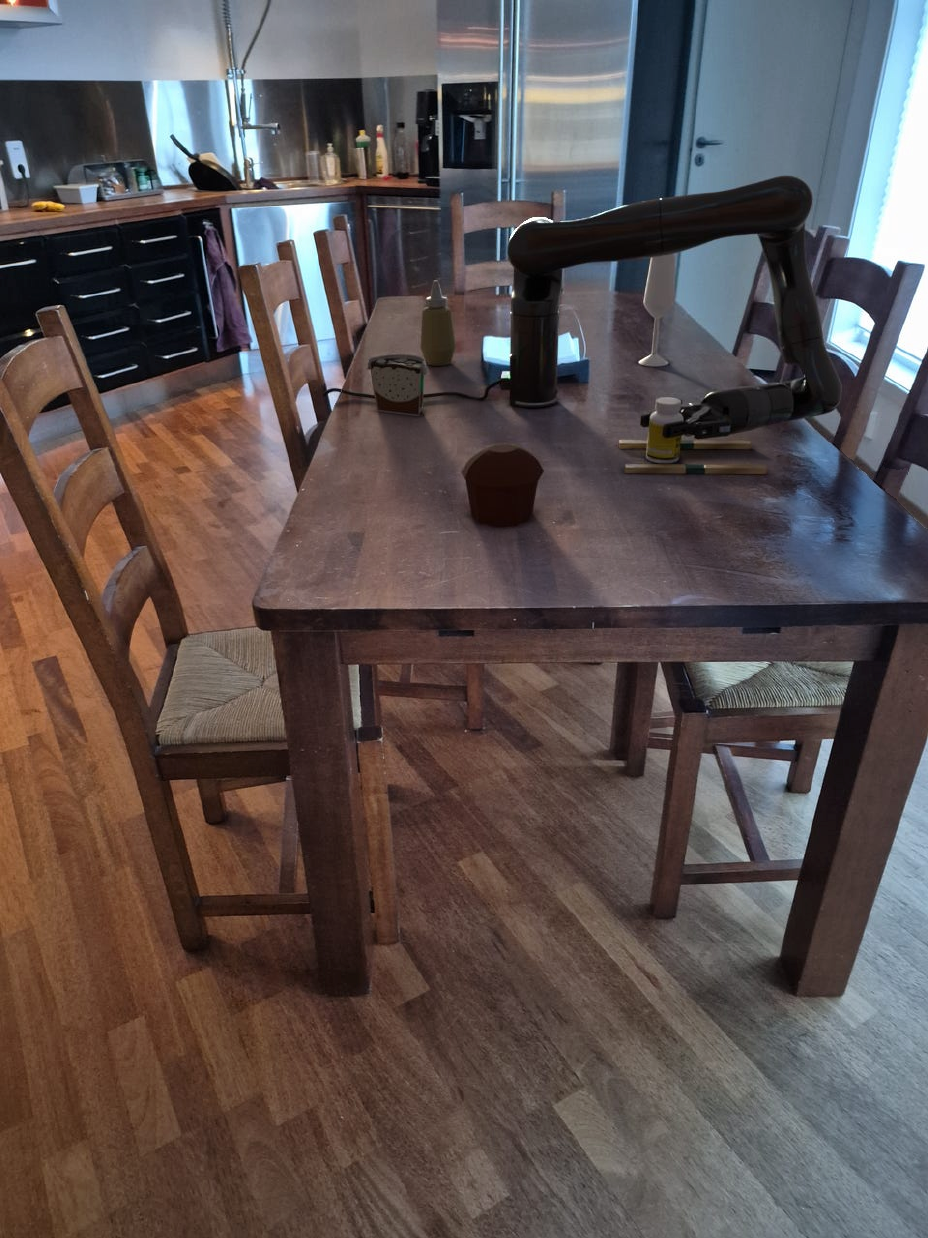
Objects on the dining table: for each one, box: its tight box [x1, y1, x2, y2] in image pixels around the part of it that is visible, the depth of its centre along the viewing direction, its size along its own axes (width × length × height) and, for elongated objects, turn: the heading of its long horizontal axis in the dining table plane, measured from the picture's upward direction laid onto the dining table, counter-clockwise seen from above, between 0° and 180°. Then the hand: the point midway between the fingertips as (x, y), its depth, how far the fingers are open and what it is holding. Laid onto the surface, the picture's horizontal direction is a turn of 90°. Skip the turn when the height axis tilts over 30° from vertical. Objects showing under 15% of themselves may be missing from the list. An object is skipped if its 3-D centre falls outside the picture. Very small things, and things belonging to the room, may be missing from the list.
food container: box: [366, 353, 429, 417], centre depth 167 cm, size 12×6×10 cm, turn 65°
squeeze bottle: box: [420, 279, 457, 367], centre depth 195 cm, size 8×8×18 cm
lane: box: [618, 439, 768, 475], centre depth 143 cm, size 22×13×1 cm, turn 86°
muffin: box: [460, 443, 545, 528], centre depth 123 cm, size 12×11×10 cm
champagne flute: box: [638, 253, 676, 367], centre depth 190 cm, size 7×7×24 cm
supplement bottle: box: [645, 397, 683, 464], centre depth 141 cm, size 5×5×10 cm
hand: (653, 426), depth 139 cm, fingers closed on supplement bottle, 5 cm apart
